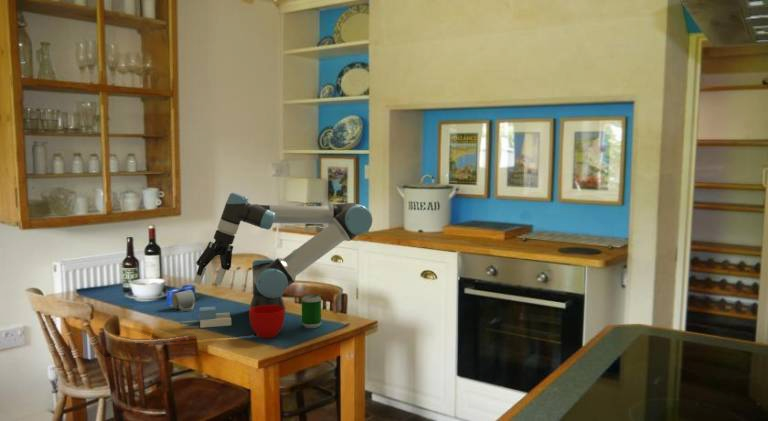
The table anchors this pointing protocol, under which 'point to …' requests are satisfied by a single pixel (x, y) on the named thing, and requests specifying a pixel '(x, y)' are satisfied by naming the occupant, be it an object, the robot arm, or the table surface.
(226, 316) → the chute
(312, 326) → the soda can
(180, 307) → the ceramic mug
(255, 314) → the ceramic cup
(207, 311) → the block
